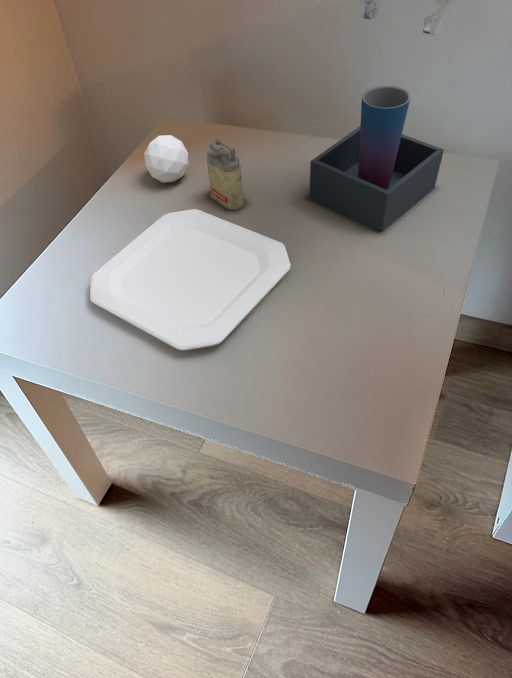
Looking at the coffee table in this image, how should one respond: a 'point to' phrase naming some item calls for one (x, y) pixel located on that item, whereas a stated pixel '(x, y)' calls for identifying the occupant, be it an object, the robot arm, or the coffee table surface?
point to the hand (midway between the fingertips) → (399, 24)
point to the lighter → (225, 176)
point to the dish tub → (366, 198)
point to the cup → (381, 132)
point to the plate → (189, 278)
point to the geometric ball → (166, 158)
